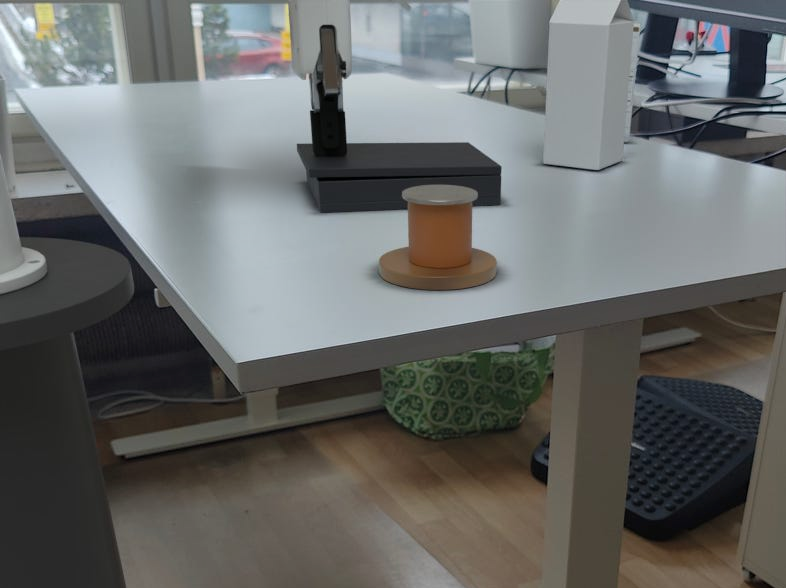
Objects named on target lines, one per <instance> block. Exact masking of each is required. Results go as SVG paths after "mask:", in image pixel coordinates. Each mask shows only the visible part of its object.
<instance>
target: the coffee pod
mask: <svg viewBox="0 0 786 588" xmlns="http://www.w3.org/2000/svg"><path fill="white" fill-rule="evenodd" d="M402 197H403V199H405V200H407V201H408V209H407V227H408V228H407V231H408V232H407V233H408V234H407V235H408V237H407V239H408V247H409V260H410V262H411V263H413V264H415V265H418V266H422V267H428V268H454V267H459V266H463V265H466V264H468V263H470V262H471V260H472V248H473V206H472V201H474V200H476V199H477V197H478V193H477V191H476V190H474V189H471V188H468V187H463V186H456V185H422V186H415V187H411V188H408V189H405V190H404V191H403V192H402Z"/></svg>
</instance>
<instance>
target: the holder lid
mask: <svg viewBox="0 0 786 588" xmlns="http://www.w3.org/2000/svg"><path fill="white" fill-rule="evenodd" d="M296 152H297V154H298V156H299V158H300V161H301V162H302V165H303V167H304V169H305V172H306V171H307V173H308V175H309V177H310V178H315V177H380V176H445V175H501V176H502V168H503V167H502V165H501V164H499V163H497V162H496V161H495V160H493V159H492V158H491V157H489V156H488V155H486V153H484V152H482V151H481V150H480V149H478V148H477V147H476V146H474V145H473V144H471V143H470V142H468V141H467V142H466V141H465V142H464V141H463V142H460V141H459V142H458V141H457V142H453V141H452V142H356V143H355V142H347V154H346V155H345V156H322V157H318V156H316V155H315V154H314V152H313V147H312V143H296Z"/></svg>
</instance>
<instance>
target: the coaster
mask: <svg viewBox="0 0 786 588" xmlns="http://www.w3.org/2000/svg"><path fill="white" fill-rule="evenodd" d="M497 263H498V261H497V259H496V257H495V256H494V255H493V254H492V253H489V252H487V251H485V250H483V249H479V248H475V247H472V260H471V262H470V263H468V264H466V265H463V266H459V267H454V268H428V267H422V266H418V265H415V264H413V263H411V262H410V260H409V246H404V247H400V248H396V249H393V250H390V251H388V252H387V251H386V252H385V253H383V254H382V255H381V256H380V257H379V260H378V271H379V276H380V277H381V278H382V279H383V280H384V281H386V282H388V283H390V284H393V285H397V286H399V287H403V288H409V289H416V290H424V291H425V290H426V291H449V290H450V291H452V290H462V289H468V288H473V287H477V286H481V285H484V284H487V283H488V282H490V281H492V280H493V279H494V278H495V277H496V276H497V265H498V264H497Z"/></svg>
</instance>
